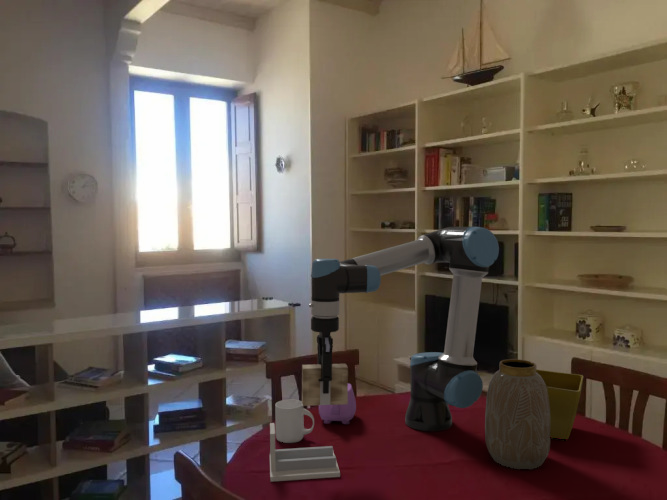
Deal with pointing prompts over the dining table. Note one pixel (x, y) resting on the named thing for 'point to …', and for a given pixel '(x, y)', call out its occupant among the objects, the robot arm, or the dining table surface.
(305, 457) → the white stand
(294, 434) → the mug
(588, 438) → the dining table surface
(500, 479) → the dining table surface
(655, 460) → the dining table surface
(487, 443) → the vase
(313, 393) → the door panel
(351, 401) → the teapot
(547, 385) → the flower pot
